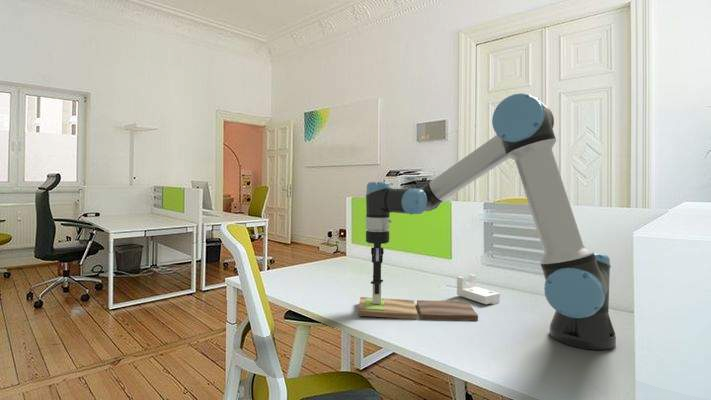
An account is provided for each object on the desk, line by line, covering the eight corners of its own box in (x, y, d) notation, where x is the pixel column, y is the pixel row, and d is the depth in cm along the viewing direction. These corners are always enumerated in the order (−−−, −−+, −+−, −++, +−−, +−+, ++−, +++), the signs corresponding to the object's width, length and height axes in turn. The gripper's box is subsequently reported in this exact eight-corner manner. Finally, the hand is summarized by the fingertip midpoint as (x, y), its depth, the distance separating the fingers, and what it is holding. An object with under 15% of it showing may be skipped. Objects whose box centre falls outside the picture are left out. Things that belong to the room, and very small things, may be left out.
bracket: (456, 297, 141) (456, 276, 141) (470, 294, 145) (470, 274, 144) (485, 307, 130) (485, 284, 130) (499, 303, 134) (499, 281, 133)
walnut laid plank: (477, 320, 116) (478, 315, 116) (421, 319, 117) (421, 314, 117) (467, 305, 130) (467, 301, 130) (416, 304, 131) (416, 300, 131)
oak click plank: (417, 319, 117) (417, 313, 117) (358, 315, 118) (358, 309, 118) (413, 304, 131) (413, 299, 131) (360, 301, 132) (360, 296, 132)
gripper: (389, 233, 117) (388, 310, 118) (388, 227, 130) (387, 297, 131) (365, 232, 118) (364, 309, 119) (366, 227, 131) (365, 296, 132)
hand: (376, 302), depth 125 cm, fingers closed
